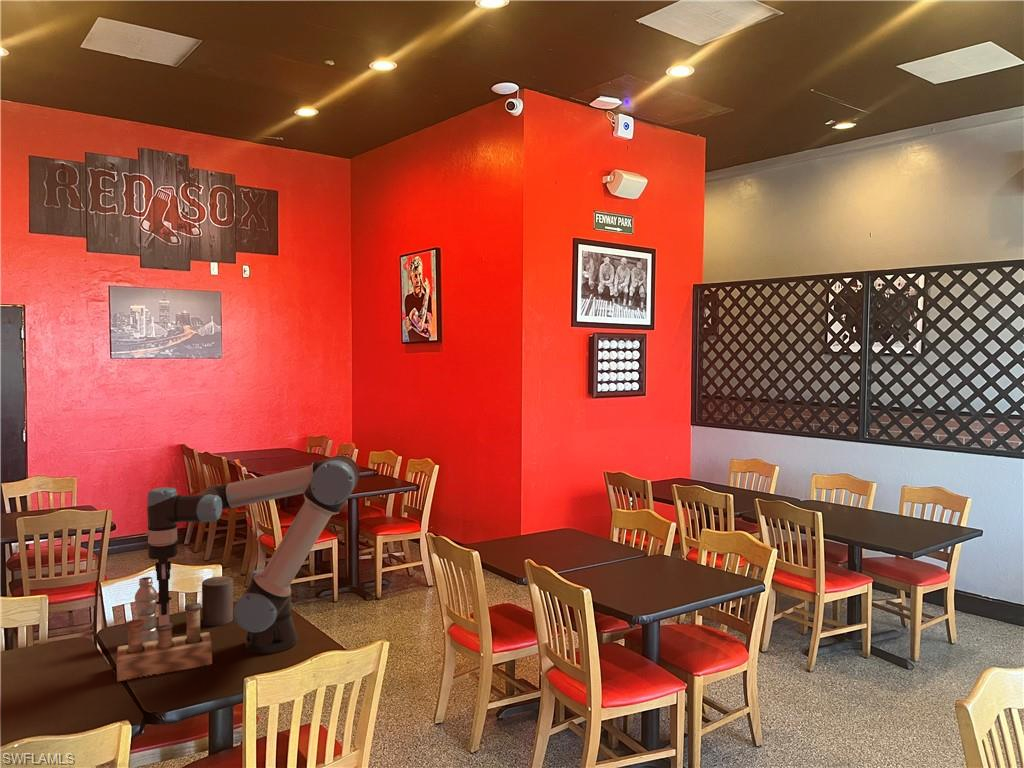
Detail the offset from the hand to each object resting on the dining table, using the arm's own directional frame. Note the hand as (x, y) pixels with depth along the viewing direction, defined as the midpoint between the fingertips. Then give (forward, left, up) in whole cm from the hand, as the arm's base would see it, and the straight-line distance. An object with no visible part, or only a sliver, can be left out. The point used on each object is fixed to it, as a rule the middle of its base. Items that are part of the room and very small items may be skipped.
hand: (164, 624), depth 207 cm
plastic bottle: (+17, -13, -12) cm, 25 cm away
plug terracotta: (+6, +5, -9) cm, 11 cm away
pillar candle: (+7, -34, -12) cm, 37 cm away
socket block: (0, 0, -12) cm, 12 cm away
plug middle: (0, 0, -11) cm, 11 cm away
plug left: (-6, -5, -7) cm, 10 cm away
